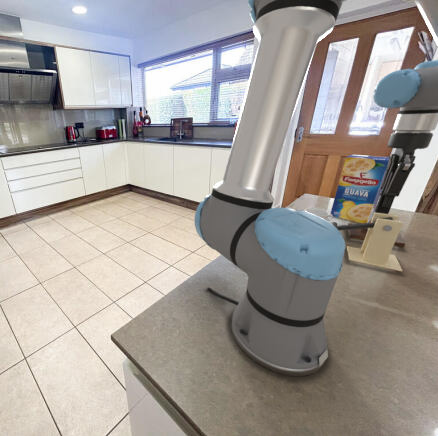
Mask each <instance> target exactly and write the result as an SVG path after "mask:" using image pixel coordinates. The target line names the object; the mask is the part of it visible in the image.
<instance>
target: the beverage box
mask: <svg viewBox="0 0 438 436" xmlns="http://www.w3.org/2000/svg"><path fill="white" fill-rule="evenodd" d="M389 157H390V156H382V155H381V156H380V155H368V154H367V155H366V154H365V155H364V154H349V155H347V156H345V159H344V163H343V167H342V171H341V173H340V178H339V181H338V185H337V188H336V192H335V196H334V199H333V202H332V206H331V209H330V214H332V215H333V218H334V217H335V218H339V219H343V220H348V221H350V222H351V221H352V222H356V223H358V224H361V223H369V222H370V221H371V220H372V218H373V214H374V212H375V209H376V206H377V204H378V201H379V198H380V193H381V191H382V190H381V186H382V183H383V180H384V176H385V173H386V170H387V166H388V162H389Z"/></svg>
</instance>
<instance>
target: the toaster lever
mask: <svg viewBox="0 0 438 436" xmlns="http://www.w3.org/2000/svg"><path fill="white" fill-rule="evenodd" d="M381 219H388V220H393V218H392V217H389V218H381ZM376 220H377V219H376ZM330 223H331V224H332V225H334V226H335V227H336V228H337V229H338V230H339V231H348V230H350V229H362V228H374V225H375V222H372V223H369V222H368V223H349V224H350V225H348V224H341V225H338V223H337V222H336V221H332V222H330Z"/></svg>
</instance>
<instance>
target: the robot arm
mask: <svg viewBox="0 0 438 436" xmlns="http://www.w3.org/2000/svg"><path fill="white" fill-rule="evenodd" d="M348 1H349V0H247V4H248V5H247V6H249V7H250V8H251V10H250V12H249V15H250V18H251V21H252V22H253V24H254V25H253V30H252V31H253V34H254V35H255V37H256V38H257V40H258V46H257V49H256V53H255V57H254V61H253V64H252V68H251V73H250V76H249V80H248V84H247V86H246V87H247V88H246V91H245V94H244V97H243V98H244V99H243V103H242V106H241V109H240V114H239V118H238V121H237V125H236V129H235V132H234V137H233V141H232V143H231V148H230V151H229V155H228V159H227V163H226V166H225V171H224V174H223V178H222V180H221V181H219V182H217V183H216V184H215V185H213V187H212V190H211V193H209V194H207V195H206V196H205V197H204V198H203V199H204V200H203V201H200V202H199V204H198V205H197V208H196V210H195V212H194V213H195V214H194V227H195V231H196V233H197V235H198V236H199V238H200V239H201V240H202V241H203V242H204V243H205V244H206V245H207V246H208V247H209V248H210V249H212V250H215V251H216V252H217V253H219V254H220V255H221V256H222V257H224V258H225V259H227V260H228V261H229V262H230V263H231V264H233V265H235V266H236V267H237V268H239V269H240V270H241V271H242V272H244V273H245V274H246V275H247V277H248V279H247V283H246V284H247V285H246V290H245V291H246V292H245V293H244V295H243V296H242V298H241V299H240V301H237V300H234V299H232V298H231V297H228V296H225V295H222V294H220V293H218V292H216V291H215V290H214V289H212V288H211V287H208V288H207V289H206V290H207V291H208V292H209V293H211V294H212V295H214V296H216V297H217V298H220V299H222V300H225V301H227V302H228V303H231V304H233V305H236V306H235V308H234V310H233V313H232V316H231V325H230V326H231V332H232V337H233V338H234V340H235V342H236V344H237V345H238V346H239V348H240V349H241V350H242V352H244V354H245V355H246V356H247V357H249V358H250V359H251V360H252V361H254V362H255V363H256V364H258V365H260V366H261V367H263V368H265V369H266V370H269V371H272V372H274V373H277V374H280V375H285V376H289V377H305V376H309V375H312V374H314V373H316V372H317V371H319V370H320V368H322V366H323V365H324V363H325V361H326V360H327V358H329V351H328V340H327V334H326V328H325V321H324V317H325V314H326V311H327V308H328V305H329V302H330V299H331V296H332V294H333V291H334V288H335V285H336V283H337V279H338V278H339V274H340V273H341V272H342V269H343V260H344V256H345V250H346V240H345V239H344V238H343V234H342V232H341V230H338V229H337V228H336V227H335V226H334V225H332V224H331V223H332V222H330V221H326V220H325V219H323V218H321V217H319V216H316V215H314V214H311V213H308V212H305V210H302V209H299V210H296V209H293V208H291V207H273V206H274V202H275V198H274V196H273V195H272V193H271V192H270V186H271V183H272V180H273V177H274V174H275V171H276V168H277V165H278V162H279V159H280V156H281V153H282V150H283V148H284V144H285V141H286V139H287V135H288V132H289V129H290V126H291V123H292V120H293V116H294V114H295V111H296V108H297V105H298V101H299V99H300V96H301V92H302V89H303V87H304V83H305V80H306V77H307V75H308V71H309V68H310V65H311V62H312V59H313V56H314V53H315V50H316V47H317V45H318V42H320V41H322V39H324V38H325V37H326V36H327V35H329V34H330V33H331V32H332V31H333V29H334V28H335V26H336V22H337V19H338V16H339V14H340V11H341V8H342V6H343V4H344V3H345V2H348ZM401 1H403V2H407V3H413V2H414V4H415V6H416V7H417V9H418V11H419V13H420V14H421V17H422V19H423V20H424V22H425V24H426V26H427V28H428V30H429V31H430V33H431V35H432V37H433V39H434V41H435V43H436V45H437V46H438V0H401ZM372 99H373V102H374V103H375V104H376V105H377V106H378V107H380V108H384V109H388V110H389V109H390V110H391V109H398V108H399V111H398V113H397V115H396V118H395V121H394V124H393V127H392V131H394V132H392V133H390V136H389V139H388V142H387V147H388V148H390V149H395V151H394V152H393V153H391V155H390V156H388V157H389V162H388V166H387V170H386V173H385V176H384V180H383V183H382V186H381V190H382V191H381V193H380V197H379V200H378V203H377V206H376V208H375V211H374V212H375V213H383V214H390V210H391V208H392V206H393V204H394V200H395V198H396V197H399V196H400V194H401V192H402V190H403V188H404V186H405V184H406V182H407V180H408V178H409V176H410V174H411V172H412V171H413V169H414V168H415V167H416V163H415V160H416V155H415V153H416V150H423V149H427V148H429V146H430V144H431V141H432V138H433V136H434V133H433V132H432V131H435V130H436V129H437V126H438V59H435V60H434V59H433V60H429V61H424V62H420V63H418V64H417V65H416V66H415V67H414V68H406V69H405V68H403V69H398V70H394V71H392V72H390V73H388V74H386V75H385V76H383V78H381V79H380V80H379V81H378V82H377V84H376V85H375V87H374V89H373V93H372ZM373 215H374V214H373Z"/></svg>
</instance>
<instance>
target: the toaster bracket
mask: <svg viewBox="0 0 438 436" xmlns="http://www.w3.org/2000/svg"><path fill="white" fill-rule="evenodd" d="M389 217H392V218H393V220H388V219H381V218H389ZM399 218H400V216H399V215H398V214H391V213H388V214H383V213H375V211H374V215H373V217H372V219H371V220H370V221H371V223H372V222H375V225H374V228H369V229H368V231H367V234H366V237H365V240H363V242H362V245H361V247H354V246H350V245H349V246H348V245H347V246H346V250H347V255H348V260H349V261H350V262H355V263H360V264H365V265H369V266H374V267H378V268H379V267H380V268H383V269H389V270H392V271H398V272H403V269H402V267H401V264H400V262H399V261H398V259H397V256H396V254H391V253H392V250H393V248H394V247H395V246H394V243H395V241H396V239H397V236H398V234H400V231H401V229H402V226H403V225H404V222H403V221H402V220H399ZM376 219H377V220H376Z"/></svg>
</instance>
